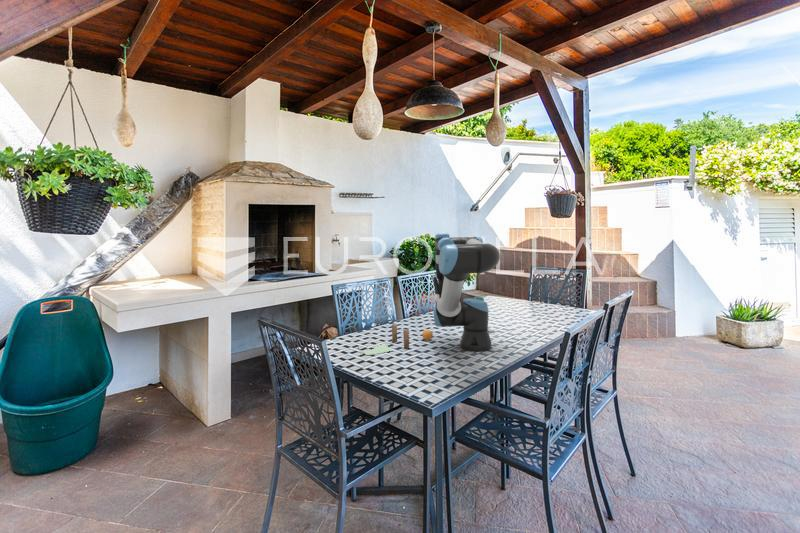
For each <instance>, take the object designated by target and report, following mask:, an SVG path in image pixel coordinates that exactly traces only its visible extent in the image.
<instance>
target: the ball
mask: <svg viewBox="0 0 800 533" xmlns="http://www.w3.org/2000/svg"><path fill="white" fill-rule="evenodd" d="M421 337H422V339H424V340H425V341H431V339H433V332H432V330H431V329H425V330H423V331H422V334H421Z"/></svg>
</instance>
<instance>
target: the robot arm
mask: <svg viewBox="0 0 800 533" xmlns="http://www.w3.org/2000/svg"><path fill="white" fill-rule="evenodd" d="M434 236H435V237H434V238H435V239H434V245H435V246H434V248H435V275H433V276H431V280H432V282H433V287H434V291H435V294H436V295H438V296H439V297H438V300H437V301H436V302H433V303H432V310H433V311H432V312H433V320H434V326H436V327H441V328H444V327H445V328H446V327H450V328H451V327H463V330H462V331H463V332H462V335H461V339H460V340H459V347H460V348H461V349H463V350H466V351H471V352H485V351H488V350H491V349H492V348H493V347H492V346H493V345H492V341H491V337H490V333H489V319H488V316H489V308H488V307H489V306H488V303H487V302H486V301H485V300H484V301H482V300H478V299H474V298H463V300H462V301H461V296H462V291H463V287H464V284H465V281H466V280H467V279H468V278H469V277H470V274H484V273H487V272H490V271H491V270H494V268H495V267H496V266H497V265H498V263H499V262H500V260H501V258H500V256H501V255H500V254H501V253H500V251H499V249H498V248H497V247H496V246H495V245H493V244H491V243H484V241H483V238H482V237H481V236H470V237H469V236H466V237H465V236H464V237H450V234H449V233H436V234H435V235H434Z"/></svg>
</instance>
